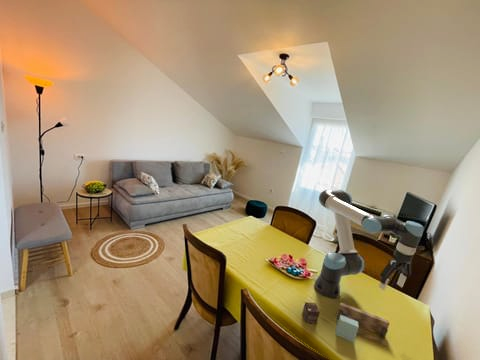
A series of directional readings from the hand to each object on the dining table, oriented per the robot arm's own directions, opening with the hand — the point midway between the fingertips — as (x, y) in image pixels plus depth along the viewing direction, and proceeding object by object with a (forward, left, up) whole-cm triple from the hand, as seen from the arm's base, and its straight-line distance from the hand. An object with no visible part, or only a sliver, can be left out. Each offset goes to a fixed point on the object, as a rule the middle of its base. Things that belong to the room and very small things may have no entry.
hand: (390, 287), depth 120 cm
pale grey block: (-19, -21, -22) cm, 35 cm away
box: (-36, -20, -22) cm, 46 cm away
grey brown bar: (-11, -12, -21) cm, 27 cm away
